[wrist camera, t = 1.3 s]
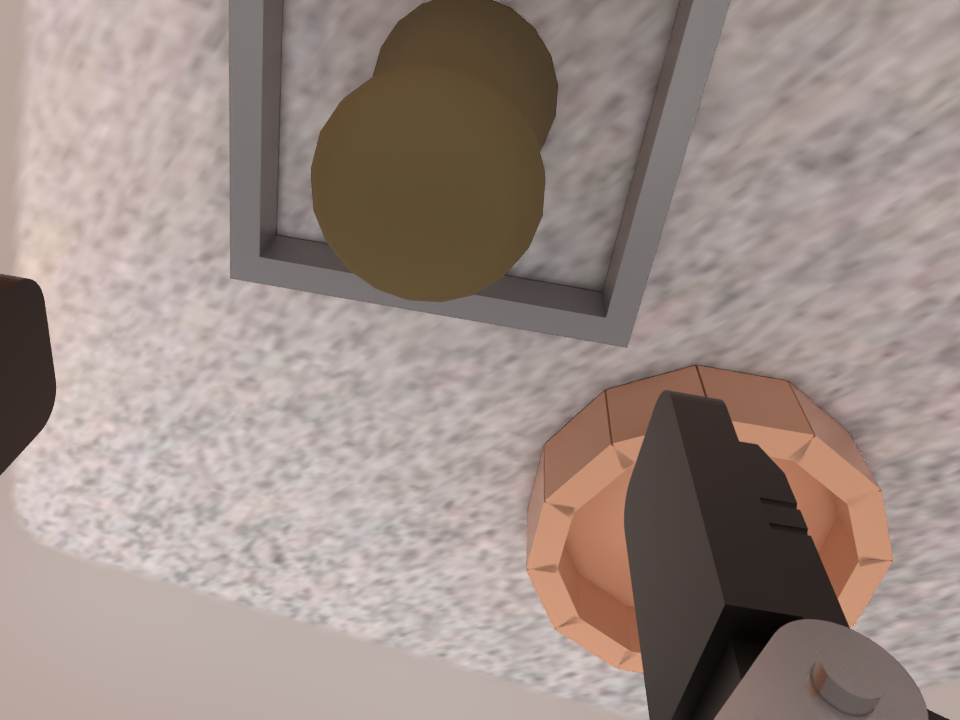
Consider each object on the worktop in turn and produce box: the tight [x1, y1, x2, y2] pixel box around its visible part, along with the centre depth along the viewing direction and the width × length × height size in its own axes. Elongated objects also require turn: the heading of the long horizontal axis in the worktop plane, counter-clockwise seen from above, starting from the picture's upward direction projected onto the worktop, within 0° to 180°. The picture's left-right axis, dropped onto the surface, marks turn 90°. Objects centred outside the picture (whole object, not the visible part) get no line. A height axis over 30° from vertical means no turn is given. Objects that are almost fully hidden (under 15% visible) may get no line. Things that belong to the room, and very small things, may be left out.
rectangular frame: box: [229, 0, 731, 348], centre depth 25 cm, size 14×14×2 cm
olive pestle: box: [311, 0, 558, 302], centre depth 21 cm, size 6×6×11 cm
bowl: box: [526, 365, 893, 673], centre depth 32 cm, size 13×13×4 cm
